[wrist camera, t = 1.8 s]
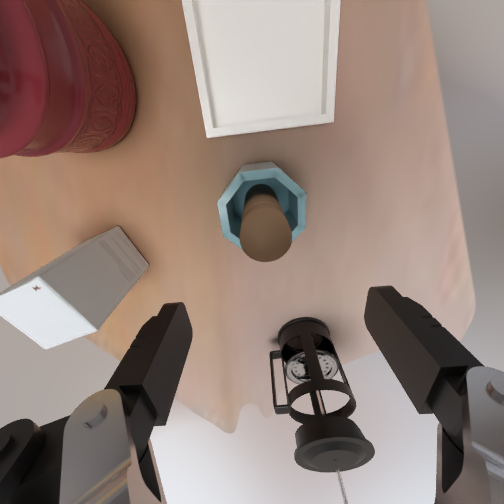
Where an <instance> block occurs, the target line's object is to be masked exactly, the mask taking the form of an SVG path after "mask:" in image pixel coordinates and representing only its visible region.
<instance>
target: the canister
mask: <svg viewBox="0 0 504 504" xmlns="http://www.w3.org/2000/svg"><path fill="white" fill-rule="evenodd" d="M135 109H136V92H135V84H134V80H133V76H132V72H131V69H130V66H129V64H128V61H127V59H126V57H125V55H124V53H123V51H122V49H121V47H120V46H119V44H118V42H117V41H116V39H115V38H114V37H113V35H112V34H111V33H110V31H109V30H108V28H107V27H106V26H105V25H104V23H103V22H102V21H101V20H100V19H99V17H98V16H97V15H96V14H95V13H94V12H93V11H92V10H91V9H90V8H89V7H88V6H87V5H86V4H84V3H83V2H82V1H81V0H0V158H5V157H9V156H12V155H17V156H26V157H37V156H44V155H49V154H52V153H60V152H75V153H90V152H98V151H101V150H104V149H107V148H109V147H111V146H113V145H114V144H116V143H118V142H119V141H120V140H121V139H122V138H123V137H124V136H125V135H126V134H127V132H128V131H129V129H130V127H131V125H132V122H133V119H134V115H135Z"/></svg>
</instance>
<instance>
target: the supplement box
mask: <svg viewBox="0 0 504 504" xmlns="http://www.w3.org/2000/svg"><path fill="white" fill-rule="evenodd" d="M148 266H149V264H148V263H147V262H146V260H145V259H144V258H143V256H142V255H141V254H140V253H139V251H138V250H137V249H136V248H135V246H134V245H133V244H132V243H131V241H130V240H129V239H128V237H127V236H126V235H125V234H124V232H123V231H122V230H121V228H120V227H119V226H116V227H114V228H112V229H110V230H108V231H106V232H103V233H101V234H99V235H97V236H95V237H93V238H91V239H89V240H87V241H85V242H83V243H81V244H79V245H77V246H76V247H74V248H72V249H71V250H69V251H68V252H66V253H64V254H63V255H61V256H60V257H58V258H56V259H55V260H53V261H51V262H50V263H48V264H46V265H45V266H43V267H42V268H40V269H38V270H37V271H35V272H33V273H32V274H30V275H28V276H27V277H25V278H24V279H22V280H20V281H19V282H17V283H15V284H14V285H12V286H11V287H9V288H7V289H6V290H4V291H3V292H1V293H0V316H2V317H3V318H4V319H5V320H7V321H8V322H10V323H11V324H12V325H14V326H15V327H16V328H17V329H19V330H20V331H21V332H23V333H24V334H25V335H27V336H28V337H29V338H31V339H32V340H34V341H35V342H36V343H38V344H39V345H40V346H41V347H43V348H44V349H45V350H46V349H49V348H52V347H54V346H57V345H60V344H62V343H65V342H68V341H70V340H73V339H76V338H79V337H81V336H85V335H88V334H90V333H93V332H96V331H98V330H99V328H100V327H101V326H102V324H103V323H104V321H105V320H106V319H107V318H108V316H109V315H110V314H111V313H112V311H113V310H114V309H115V308H116V306H117V305H118V304H119V303H120V302H121V300H122V299H123V298H124V297H125V295H126V294H127V293H128V292H129V290H130V289H131V288H132V287H133V285H134V284H135V283H136V282H137V280H138V279H139V278H140V277H141V275H142V274H143V273H144V272H145V270H146V269H147V268H148Z"/></svg>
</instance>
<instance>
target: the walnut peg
mask: <svg viewBox="0 0 504 504" xmlns="http://www.w3.org/2000/svg"><path fill="white" fill-rule="evenodd" d="M291 243H292V232H291V229H290V226H289V224H288V222H287V219H286V217H285V215H284V212H283V210H282V208H281V205H280V203H279V201H278V198H277V196H276V194H275V192H274V190H273V189H272V188H271V187H270V186H268V185H265V184H257V185H254V186H252V187H251V188H250V189H249V190H248V191H247V193H246V196H245V201H244V208H243V216H242V223H241V230H240V245H241V247H242V249H243V251H244V252H245V253H246V254H247V255H248V256H249V257H250V258H252V259H254V260H257V261H261V262H269V261H274V260H276V259H279V258H280V257H282V256H283V255H284V254H285V253H286V252H287V251H288V249H289V248H290V246H291Z"/></svg>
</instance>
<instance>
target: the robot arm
mask: <svg viewBox="0 0 504 504" xmlns="http://www.w3.org/2000/svg"><path fill="white" fill-rule="evenodd" d="M364 319H365V324H366V327H367V329H368V331H369V332H370V334H371V336H372V337H373V339H374V341H375V342H376V344H377V346H378V347H379V349H380V351H381V352H382V354H383V355H384V357H385V359H386V360H387V362H388V364H389V365H390V367H391V369H392V370H393V372H394V373H395V375H396V377H397V378H398V380H399V382H400V383H401V385H402V387H403V388H404V390H405V391H406V393H407V395H408V396H409V398H410V400H411V401H412V403H413V404H414V406H415V408H416V410H417V411H418V413H419V414H432V413H434V414H435V416H436V417H437V419H438V421H439V424H438V429H437V430H438V431H437V475H436V498H435V503H434V504H504V372H502V371H500V370H497V369H494V368H490V367H485V366H484V365H483V364H481V363H480V362H479V361H478V360H477V359H476V358H475V357H474V356H473V355H472V354H471V353H470V352H469V351H468V350H467V349H466V348H465V347H464V346H463V345H462V344H461V343H460V342H459V341H458V340H457V339H456V338H455V337H454V336H453V335H452V334H451V333H450V332H449V331H447V330H446V329H445V328H444V327H442V326H441V324H440V323H439V322H438V321H437V320H436V319H435V318H433V317H432V315H431V314H430V313H429V312H428V311H427V310H426V309H425V308H424V307H423V306H422V305H420V304H418V303H417V302H415V301H413V300H412V299H410V298H408V297H402V296H401V295H400V294H399V292H398V291H397V290H396V289H395V288H394V287H392V286H378V287H370V288H369V291H368V296H367V302H366V307H365V313H364ZM191 342H192V326H191V323H190V320H189V317H188V314H187V311H186V308H185V305H184V303H183V302H178V303H166V304H164V305H163V306H162V308H161V310H160V312H159V313H158V315H157V316H153V317H152V318H150V319H149V320H148V321H147V322H146V323H145V324H144V325H143V326H142V328H141V329H140V331H139V332H138V334H137V336H136V339H134V341H133V342H132V344H131V346H130V349H128V351H127V352H126V354H125V356H124V357H123V359H122V361H121V362H120V364H119V366H118V367H117V369H116V371H115V372H114V374H113V376H112V377H111V379H110V380H109V382H108V384H107V385H106V387H105V388H104V390H101V391H99V392H97V393H95V394H93V395H91V396H90V397H88V398H87V399H86V400H84V401H83V402H82V403H81V404H80V405H79V406H78V407H77V408H76V409H75V411H74V412H73V413H72V414H71V415H70V416H67V417H64V418H62V419H59V420H56V421H54V422H51V423H49V424H46V425H43V426H41V427H38V426H37V425H36V424H35V423H34V422H33V421H31V420H30V419H20V420H17V421H14V422H11V423H9V424H7V425H6V426H4V427H2V428H1V429H0V504H167V503H166V499H165V495H164V492H163V487H162V483H161V480H160V476H159V472H158V468H157V464H156V460H155V456H154V452H153V448H152V444H151V441H150V435H151V432H152V430H153V427H154V426H164V425H166V422H167V418H168V416H169V412H170V409H171V406H172V403H173V400H174V396H175V393H176V390H177V387H178V384H179V380H180V377H181V374H182V371H183V367H184V364H185V361H186V358H187V355H188V351H189V348H190V345H191Z"/></svg>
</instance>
